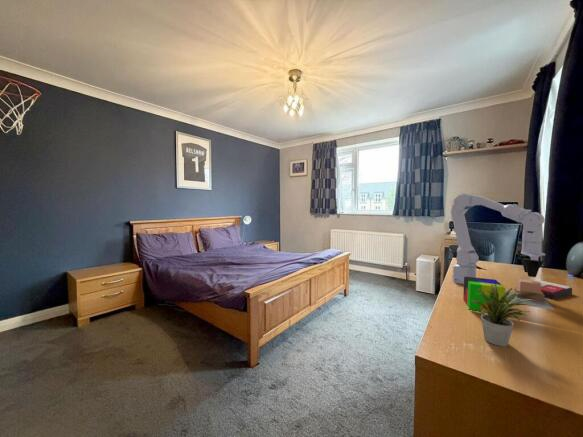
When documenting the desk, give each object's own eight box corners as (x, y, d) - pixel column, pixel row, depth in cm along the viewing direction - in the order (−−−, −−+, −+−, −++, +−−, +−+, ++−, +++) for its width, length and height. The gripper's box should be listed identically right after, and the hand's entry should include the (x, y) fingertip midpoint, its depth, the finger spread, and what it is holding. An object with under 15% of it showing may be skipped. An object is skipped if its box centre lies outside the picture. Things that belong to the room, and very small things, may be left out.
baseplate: (484, 298, 100) (484, 297, 100) (482, 288, 113) (482, 287, 112) (554, 311, 88) (554, 310, 88) (543, 297, 101) (543, 296, 101)
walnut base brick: (516, 296, 100) (517, 291, 100) (514, 292, 105) (514, 287, 105) (544, 301, 96) (544, 295, 96) (540, 296, 100) (540, 290, 100)
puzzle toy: (494, 304, 94) (495, 279, 93) (503, 315, 85) (505, 287, 84) (463, 300, 98) (464, 276, 97) (469, 310, 89) (470, 283, 88)
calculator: (520, 284, 108) (538, 278, 113) (519, 293, 108) (538, 287, 114) (554, 292, 98) (572, 286, 103) (553, 303, 98) (572, 295, 103)
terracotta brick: (520, 290, 100) (520, 281, 100) (518, 288, 104) (518, 279, 103) (540, 293, 97) (541, 284, 97) (538, 291, 100) (538, 281, 100)
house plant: (512, 364, 58) (515, 298, 58) (454, 336, 71) (456, 281, 70) (541, 350, 64) (545, 290, 63) (483, 326, 77) (485, 276, 76)
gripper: (550, 245, 91) (548, 280, 92) (541, 240, 103) (539, 272, 103) (524, 243, 95) (522, 277, 96) (518, 239, 107) (517, 269, 108)
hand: (529, 274), depth 100 cm, fingers open, 7 cm apart
